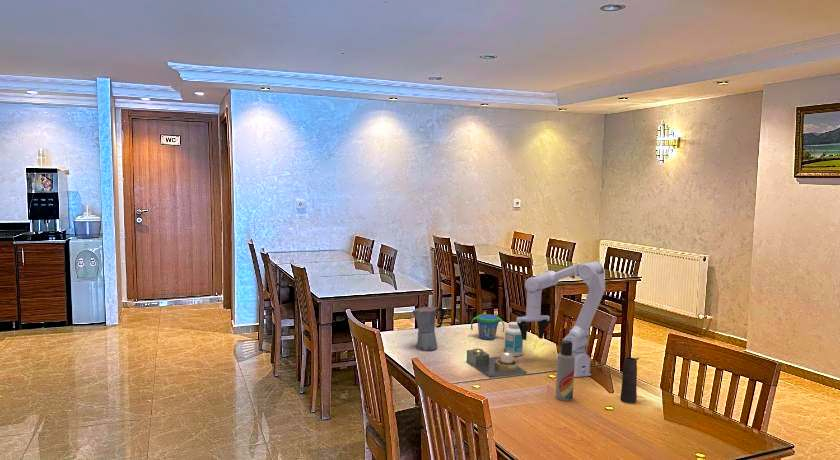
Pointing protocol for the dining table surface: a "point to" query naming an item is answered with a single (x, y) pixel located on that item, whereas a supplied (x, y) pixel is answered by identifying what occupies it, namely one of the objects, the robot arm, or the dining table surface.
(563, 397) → the lotion bottle
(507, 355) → the spout can
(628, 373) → the butter churn
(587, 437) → the dining table surface
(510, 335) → the pill bottle
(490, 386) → the dining table surface
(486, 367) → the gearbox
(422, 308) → the moka pot
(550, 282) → the robot arm
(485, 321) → the snack cup
